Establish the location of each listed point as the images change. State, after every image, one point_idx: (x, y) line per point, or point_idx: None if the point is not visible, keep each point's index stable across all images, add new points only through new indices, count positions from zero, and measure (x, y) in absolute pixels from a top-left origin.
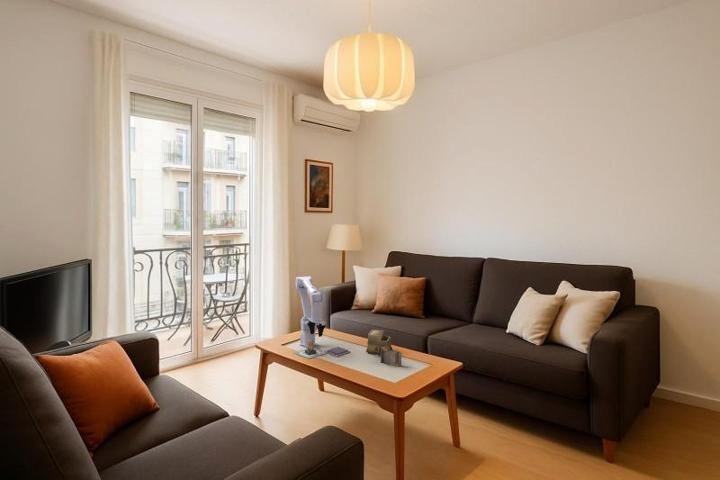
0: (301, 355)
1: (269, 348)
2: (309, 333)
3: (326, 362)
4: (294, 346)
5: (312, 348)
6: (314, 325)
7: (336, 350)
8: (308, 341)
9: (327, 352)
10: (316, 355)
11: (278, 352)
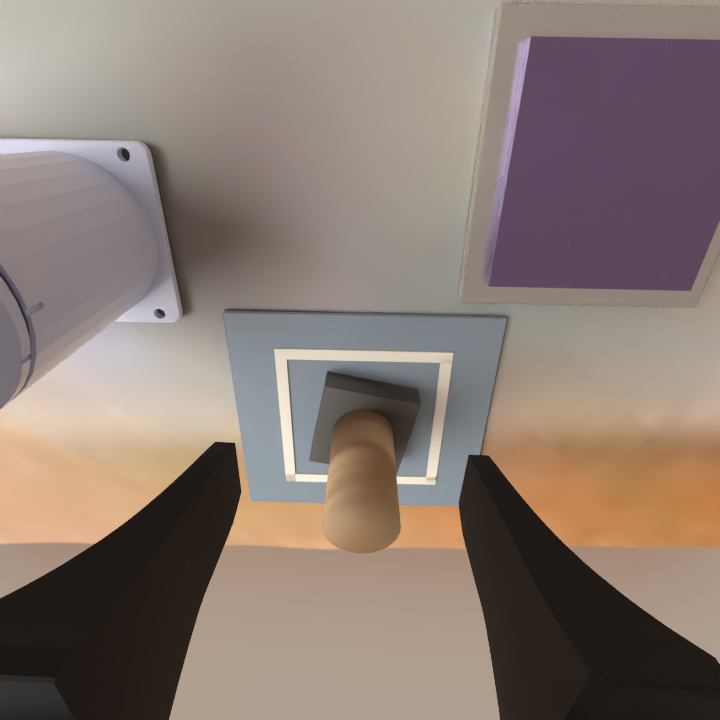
0: None
1: (2, 541)
2: (39, 371)
3: (661, 463)
4: (49, 386)
5: (393, 448)
6: (148, 587)
7: (614, 207)
8: (366, 548)
9: (513, 301)
10: (468, 424)
11: None
